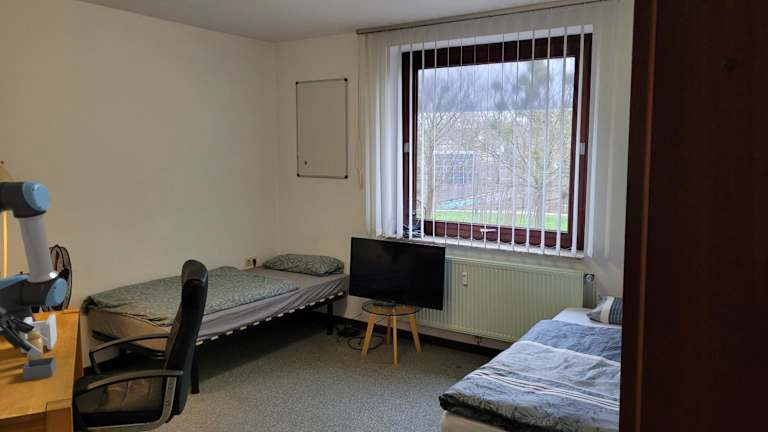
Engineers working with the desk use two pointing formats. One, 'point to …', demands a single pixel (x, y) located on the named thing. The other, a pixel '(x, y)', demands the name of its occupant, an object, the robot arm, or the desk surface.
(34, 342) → the beige rounded figurine
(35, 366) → the grey open square box
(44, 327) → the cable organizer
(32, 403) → the desk surface
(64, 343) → the desk surface
